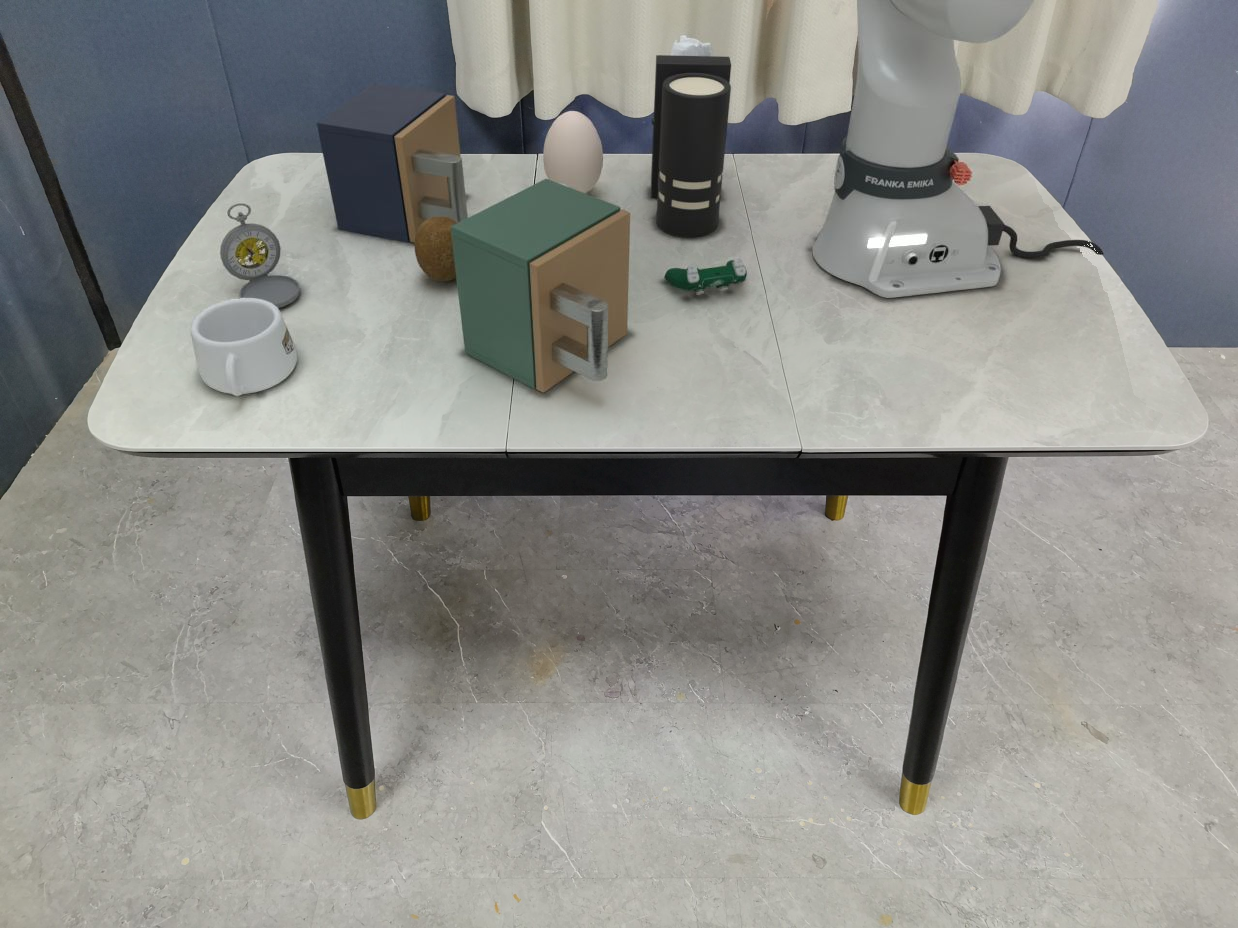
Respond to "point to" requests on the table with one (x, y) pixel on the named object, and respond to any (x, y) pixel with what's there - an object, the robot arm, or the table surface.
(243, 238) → the pocket watch
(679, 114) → the light fixture
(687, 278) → the gaming controller
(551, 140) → the egg
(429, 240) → the fruit
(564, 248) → the machine door
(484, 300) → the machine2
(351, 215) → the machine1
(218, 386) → the mug
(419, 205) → the machine door
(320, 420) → the table surface
